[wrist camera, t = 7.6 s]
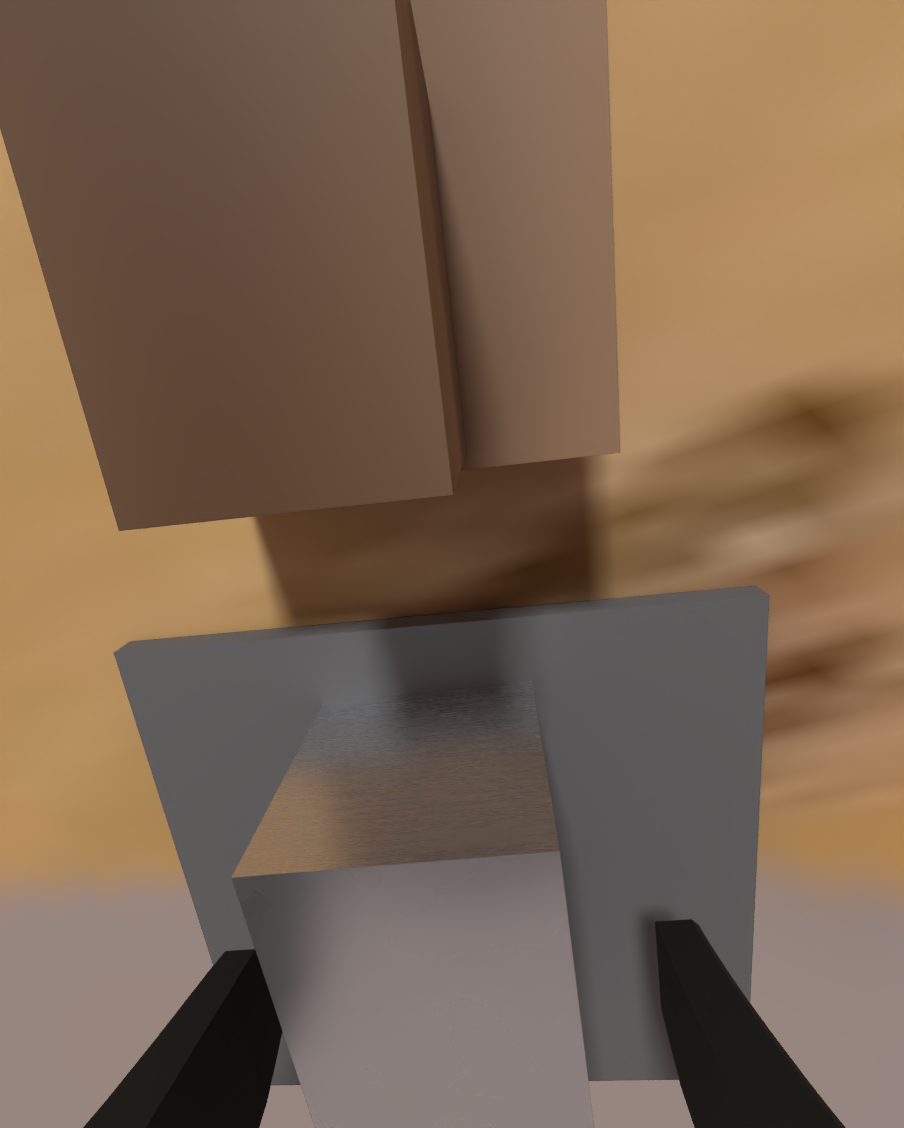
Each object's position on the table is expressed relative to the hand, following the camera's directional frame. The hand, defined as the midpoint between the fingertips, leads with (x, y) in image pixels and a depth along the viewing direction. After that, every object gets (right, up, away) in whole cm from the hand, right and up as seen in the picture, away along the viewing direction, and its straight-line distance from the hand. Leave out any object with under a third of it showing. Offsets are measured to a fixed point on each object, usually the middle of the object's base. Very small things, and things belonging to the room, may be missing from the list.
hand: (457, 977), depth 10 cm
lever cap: (0, +1, +2) cm, 2 cm away
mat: (0, +1, +2) cm, 2 cm away
